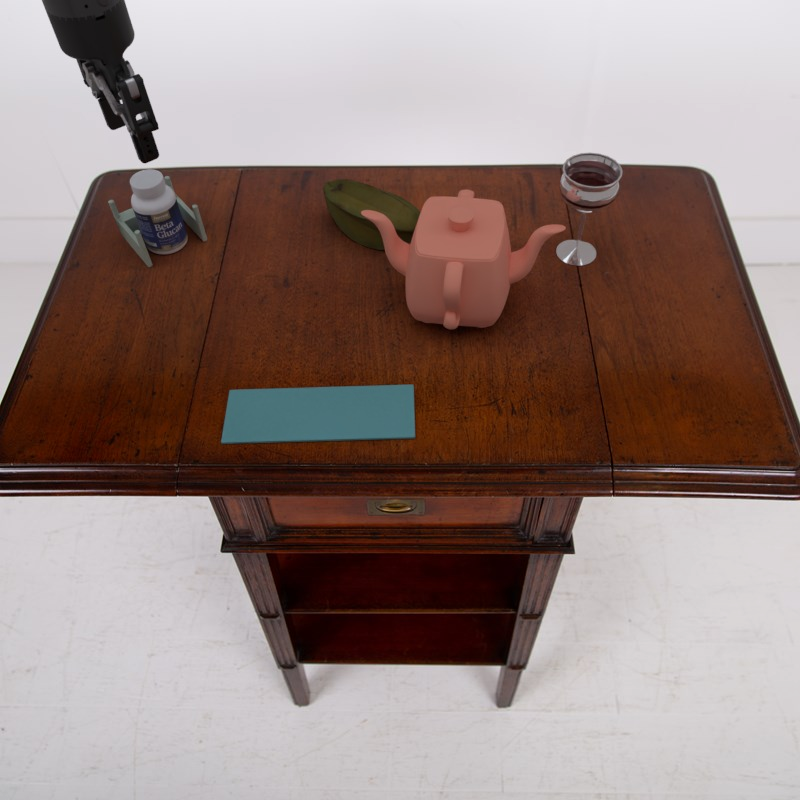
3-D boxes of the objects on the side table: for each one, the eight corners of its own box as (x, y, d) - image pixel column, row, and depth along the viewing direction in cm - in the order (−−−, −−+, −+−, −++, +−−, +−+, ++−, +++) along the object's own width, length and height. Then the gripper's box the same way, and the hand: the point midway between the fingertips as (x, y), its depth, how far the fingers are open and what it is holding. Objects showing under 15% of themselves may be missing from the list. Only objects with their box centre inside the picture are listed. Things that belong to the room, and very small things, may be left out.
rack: (208, 240, 98) (198, 206, 94) (148, 268, 95) (135, 234, 91) (178, 208, 103) (167, 174, 98) (120, 234, 100) (106, 200, 95)
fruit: (339, 268, 94) (333, 226, 89) (324, 210, 101) (319, 167, 96) (428, 253, 95) (428, 210, 90) (407, 196, 103) (406, 154, 97)
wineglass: (591, 230, 97) (608, 148, 88) (612, 264, 93) (633, 182, 84) (540, 240, 96) (553, 157, 87) (560, 275, 92) (575, 192, 83)
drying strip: (221, 444, 78) (220, 442, 78) (230, 391, 82) (229, 389, 82) (415, 438, 78) (415, 437, 77) (413, 386, 82) (413, 384, 82)
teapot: (366, 290, 91) (358, 204, 82) (476, 238, 97) (481, 152, 87) (438, 367, 84) (439, 282, 74) (553, 306, 89) (568, 219, 79)
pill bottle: (166, 261, 96) (143, 198, 88) (138, 245, 98) (113, 182, 90) (197, 238, 99) (177, 175, 91) (169, 223, 101) (148, 160, 93)
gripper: (20, -17, 76) (79, 128, 89) (74, 35, 69) (130, 184, 82) (89, -38, 79) (137, 105, 92) (149, 10, 72) (191, 158, 85)
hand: (133, 142), depth 87 cm, fingers open, 8 cm apart
